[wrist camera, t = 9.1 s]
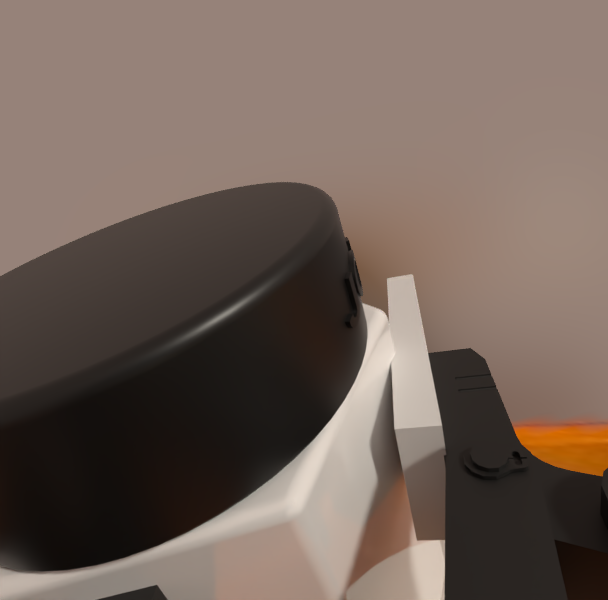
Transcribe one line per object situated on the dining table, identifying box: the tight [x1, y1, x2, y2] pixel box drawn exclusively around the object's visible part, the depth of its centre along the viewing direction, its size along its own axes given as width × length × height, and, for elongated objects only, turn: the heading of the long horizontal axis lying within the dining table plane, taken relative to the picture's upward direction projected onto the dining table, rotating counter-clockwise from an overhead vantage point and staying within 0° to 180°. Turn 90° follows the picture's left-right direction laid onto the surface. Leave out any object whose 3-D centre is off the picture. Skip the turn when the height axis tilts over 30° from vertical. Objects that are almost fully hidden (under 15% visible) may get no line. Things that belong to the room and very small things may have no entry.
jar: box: [0, 182, 445, 600], centre depth 10 cm, size 9×8×12 cm
